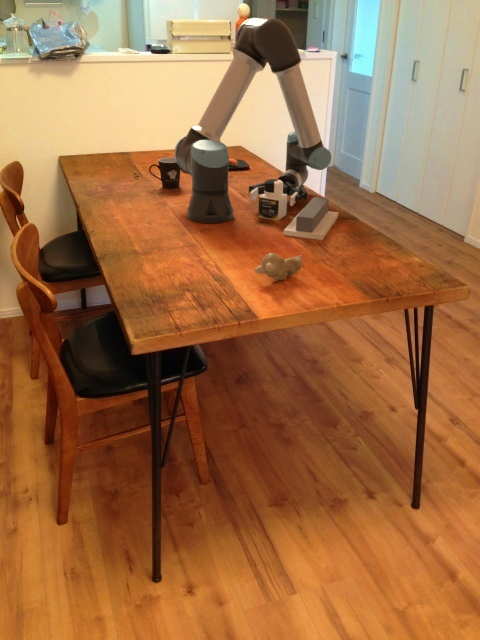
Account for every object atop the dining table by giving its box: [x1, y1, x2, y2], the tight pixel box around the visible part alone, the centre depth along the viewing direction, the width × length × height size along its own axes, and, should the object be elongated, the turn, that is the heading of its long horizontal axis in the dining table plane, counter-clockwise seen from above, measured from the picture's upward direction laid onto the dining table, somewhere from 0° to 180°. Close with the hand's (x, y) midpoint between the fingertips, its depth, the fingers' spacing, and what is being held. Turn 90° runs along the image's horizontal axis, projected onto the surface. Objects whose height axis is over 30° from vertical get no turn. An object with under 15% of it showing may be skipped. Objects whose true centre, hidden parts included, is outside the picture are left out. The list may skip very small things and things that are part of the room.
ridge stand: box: [283, 196, 339, 241], centre depth 187 cm, size 24×12×6 cm, turn 160°
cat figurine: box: [253, 252, 303, 282], centre depth 150 cm, size 8×7×12 cm
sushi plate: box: [229, 158, 250, 170], centre depth 260 cm, size 29×30×4 cm
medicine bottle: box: [258, 178, 288, 222], centre depth 194 cm, size 7×7×12 cm
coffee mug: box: [148, 157, 182, 190], centre depth 225 cm, size 12×9×10 cm
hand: (270, 199), depth 191 cm, fingers open, 13 cm apart
